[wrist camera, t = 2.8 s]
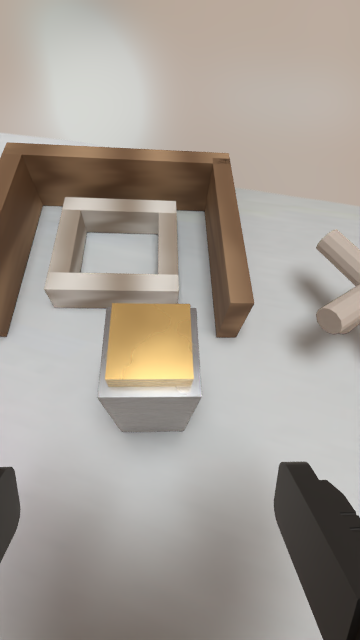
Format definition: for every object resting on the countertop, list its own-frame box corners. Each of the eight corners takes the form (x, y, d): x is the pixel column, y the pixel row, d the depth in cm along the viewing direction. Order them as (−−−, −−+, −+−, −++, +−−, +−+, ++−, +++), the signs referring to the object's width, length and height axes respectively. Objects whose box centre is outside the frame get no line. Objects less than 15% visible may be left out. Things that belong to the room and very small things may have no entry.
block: (121, 432, 19) (92, 390, 10) (125, 372, 21) (103, 294, 12) (183, 431, 20) (205, 389, 11) (181, 372, 21) (198, 295, 13)
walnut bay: (-15, 336, 22) (-59, 299, 17) (29, 193, 29) (6, 142, 25) (235, 337, 23) (254, 303, 19) (218, 200, 30) (228, 153, 26)
